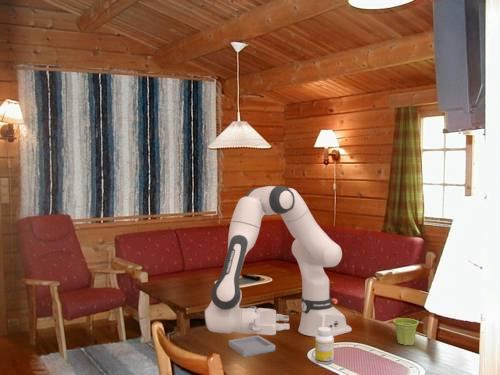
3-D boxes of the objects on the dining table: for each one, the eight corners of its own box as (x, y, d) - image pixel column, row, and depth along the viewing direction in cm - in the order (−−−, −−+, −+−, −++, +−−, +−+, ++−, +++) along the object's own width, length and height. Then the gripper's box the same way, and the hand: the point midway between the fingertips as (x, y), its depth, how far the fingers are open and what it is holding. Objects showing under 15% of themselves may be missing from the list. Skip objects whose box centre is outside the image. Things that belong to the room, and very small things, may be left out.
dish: (258, 340, 213) (258, 335, 213) (275, 351, 201) (275, 345, 201) (228, 346, 207) (228, 340, 207) (244, 357, 195) (244, 351, 195)
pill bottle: (323, 356, 196) (323, 324, 195) (337, 361, 191) (337, 329, 190) (311, 360, 192) (311, 328, 191) (325, 366, 187) (325, 333, 186)
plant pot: (388, 343, 210) (388, 321, 210) (400, 337, 217) (400, 316, 216) (410, 349, 204) (411, 326, 203) (422, 343, 210) (422, 321, 210)
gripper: (248, 320, 181) (290, 321, 180) (251, 305, 202) (288, 306, 201) (248, 339, 181) (289, 340, 181) (251, 321, 202) (288, 322, 201)
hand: (289, 322), depth 191 cm, fingers open, 8 cm apart
